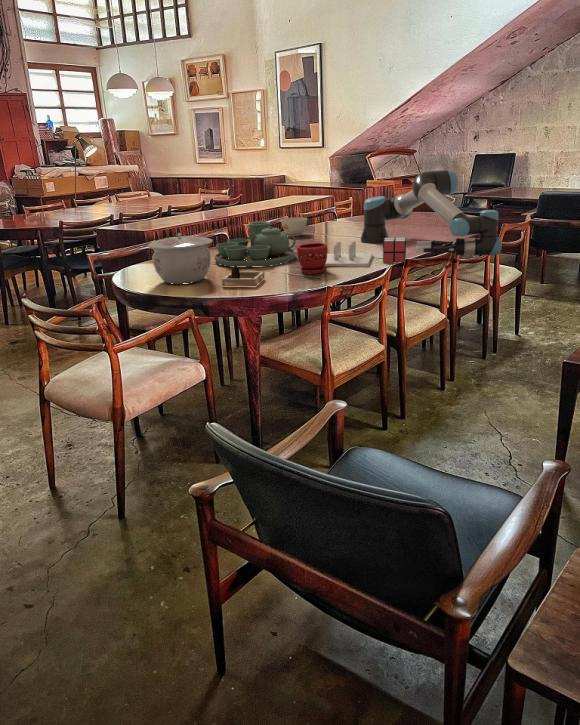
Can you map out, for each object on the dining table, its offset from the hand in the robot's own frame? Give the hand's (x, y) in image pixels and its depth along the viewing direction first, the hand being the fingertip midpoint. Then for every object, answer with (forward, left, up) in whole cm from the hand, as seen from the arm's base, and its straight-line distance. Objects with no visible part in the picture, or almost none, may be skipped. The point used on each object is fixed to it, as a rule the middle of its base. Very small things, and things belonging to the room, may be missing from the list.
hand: (416, 247), depth 265 cm
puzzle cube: (0, -10, -7) cm, 12 cm away
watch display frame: (+46, -69, -6) cm, 83 cm away
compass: (+45, -69, -7) cm, 83 cm away
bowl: (-75, -74, -6) cm, 105 cm away
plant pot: (+24, -44, -6) cm, 50 cm away
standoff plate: (+1, -33, -6) cm, 33 cm away
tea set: (-3, -78, -7) cm, 78 cm away
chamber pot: (+42, -97, -6) cm, 106 cm away
